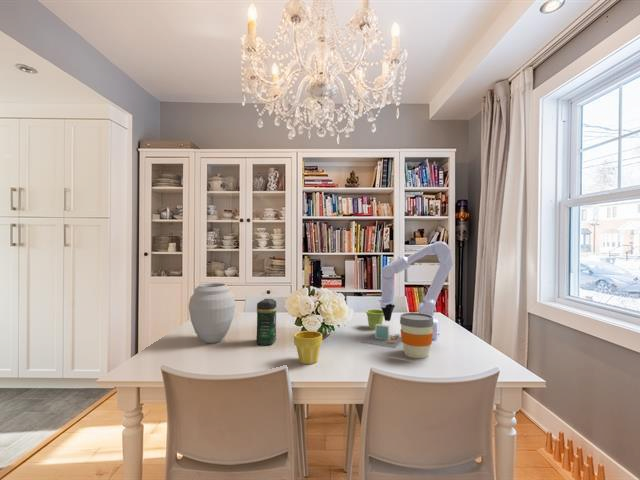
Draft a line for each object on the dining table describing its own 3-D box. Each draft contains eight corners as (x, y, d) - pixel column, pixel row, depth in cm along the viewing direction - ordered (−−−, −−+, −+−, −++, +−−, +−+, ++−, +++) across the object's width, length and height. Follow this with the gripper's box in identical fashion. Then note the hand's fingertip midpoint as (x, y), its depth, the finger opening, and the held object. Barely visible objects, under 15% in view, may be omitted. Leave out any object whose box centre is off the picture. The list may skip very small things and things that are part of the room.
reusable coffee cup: (428, 363, 124) (429, 321, 123) (395, 356, 130) (395, 317, 130) (436, 353, 134) (437, 315, 134) (405, 347, 141) (405, 311, 141)
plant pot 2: (386, 331, 165) (386, 313, 165) (366, 331, 165) (366, 313, 165) (383, 326, 174) (383, 309, 174) (364, 326, 175) (364, 309, 175)
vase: (178, 343, 146) (178, 286, 146) (212, 332, 163) (212, 281, 163) (212, 350, 137) (212, 289, 136) (244, 338, 154) (244, 283, 154)
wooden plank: (394, 336, 155) (394, 333, 155) (400, 337, 154) (400, 334, 154) (386, 343, 146) (386, 340, 146) (393, 344, 144) (393, 341, 144)
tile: (389, 338, 152) (389, 325, 152) (388, 340, 150) (388, 326, 150) (376, 336, 155) (377, 323, 155) (375, 338, 153) (375, 324, 153)
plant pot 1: (290, 358, 128) (290, 332, 128) (315, 354, 133) (315, 329, 133) (299, 368, 119) (299, 339, 119) (326, 363, 123) (327, 336, 123)
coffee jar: (273, 346, 142) (273, 301, 142) (254, 345, 143) (254, 301, 143) (278, 339, 152) (278, 297, 152) (260, 338, 153) (260, 297, 153)
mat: (405, 338, 154) (405, 337, 154) (394, 349, 139) (394, 348, 139) (374, 333, 161) (374, 332, 161) (359, 343, 146) (359, 342, 146)
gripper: (384, 288, 167) (384, 316, 167) (374, 292, 154) (373, 322, 154) (398, 289, 163) (398, 318, 163) (389, 294, 151) (389, 324, 151)
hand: (387, 320), depth 158 cm, fingers closed
